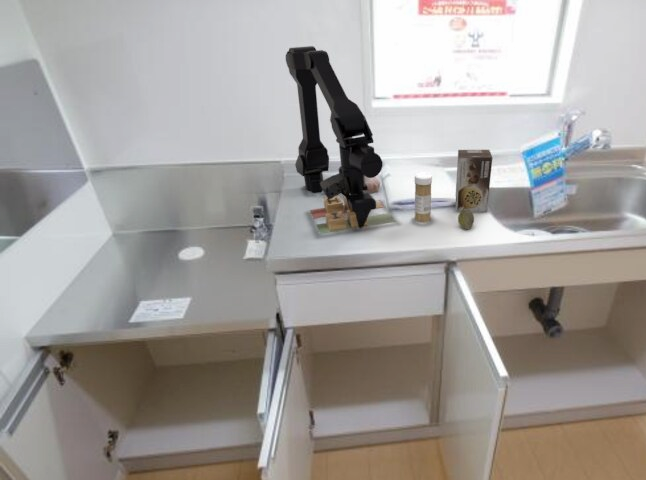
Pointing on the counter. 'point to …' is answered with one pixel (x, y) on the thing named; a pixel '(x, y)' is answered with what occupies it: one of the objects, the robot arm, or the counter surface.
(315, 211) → the letter board
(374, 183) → the garlic bulb
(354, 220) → the tile
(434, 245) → the counter surface
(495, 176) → the counter surface
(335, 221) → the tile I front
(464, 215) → the lime
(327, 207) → the tile
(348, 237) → the counter surface
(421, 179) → the sprinkles bottle
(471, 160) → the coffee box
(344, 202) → the tile
